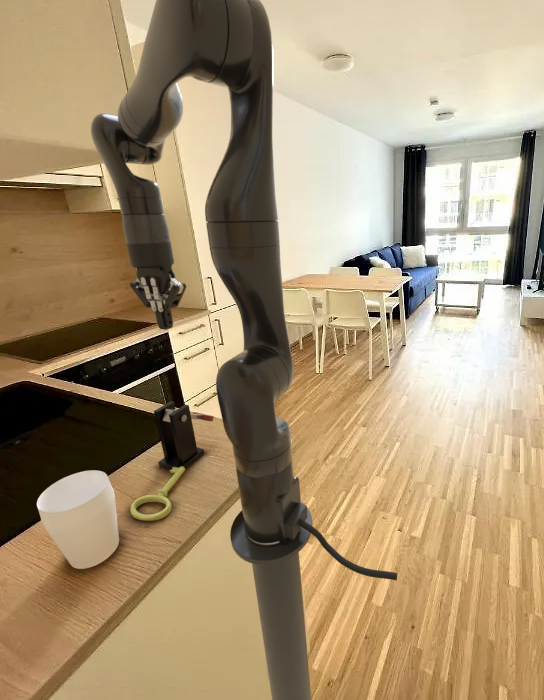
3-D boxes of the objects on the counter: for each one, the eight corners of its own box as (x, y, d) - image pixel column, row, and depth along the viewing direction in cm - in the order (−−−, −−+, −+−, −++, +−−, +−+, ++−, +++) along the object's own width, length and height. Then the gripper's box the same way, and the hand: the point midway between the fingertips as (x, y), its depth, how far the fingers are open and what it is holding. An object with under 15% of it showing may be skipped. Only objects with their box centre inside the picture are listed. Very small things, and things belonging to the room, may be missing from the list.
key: (187, 472, 74) (185, 464, 73) (167, 520, 62) (165, 510, 61) (151, 476, 73) (148, 467, 72) (124, 524, 61) (121, 515, 61)
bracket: (183, 447, 82) (173, 398, 77) (204, 453, 80) (195, 402, 75) (159, 466, 76) (146, 413, 71) (180, 473, 74) (169, 419, 69)
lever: (195, 420, 83) (197, 409, 84) (212, 424, 82) (214, 413, 82) (157, 419, 73) (160, 407, 74) (175, 423, 71) (178, 411, 72)
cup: (52, 586, 51) (24, 522, 47) (69, 537, 59) (47, 479, 55) (123, 564, 54) (103, 501, 50) (131, 520, 62) (114, 463, 58)
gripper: (190, 239, 68) (204, 326, 74) (140, 239, 73) (157, 320, 79) (158, 241, 62) (176, 337, 68) (105, 241, 67) (127, 330, 73)
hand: (166, 328), depth 74 cm, fingers closed
